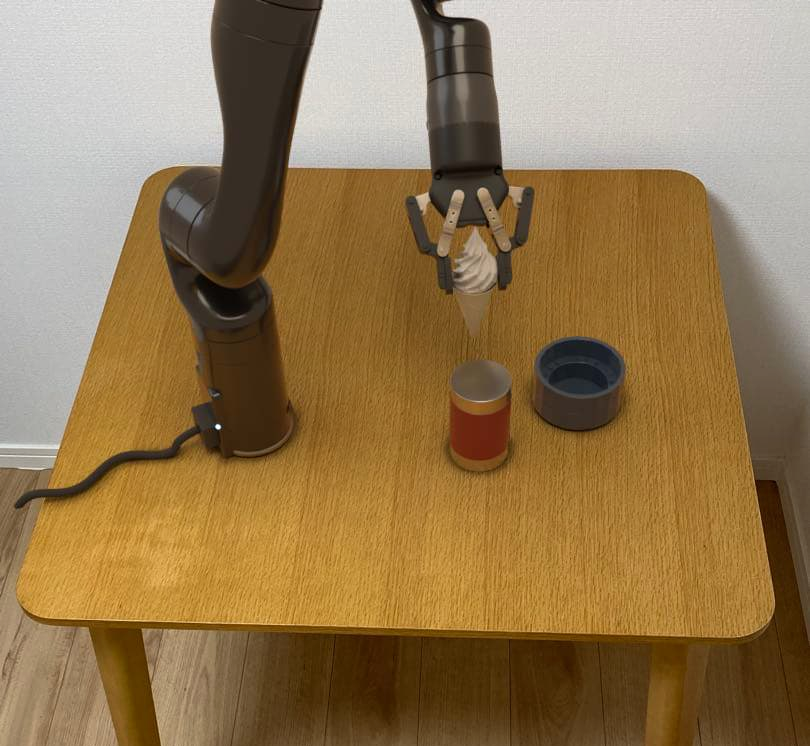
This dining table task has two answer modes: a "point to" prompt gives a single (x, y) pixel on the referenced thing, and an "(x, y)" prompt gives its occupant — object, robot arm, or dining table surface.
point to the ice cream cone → (474, 280)
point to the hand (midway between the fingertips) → (476, 291)
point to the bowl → (578, 382)
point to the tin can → (479, 415)
